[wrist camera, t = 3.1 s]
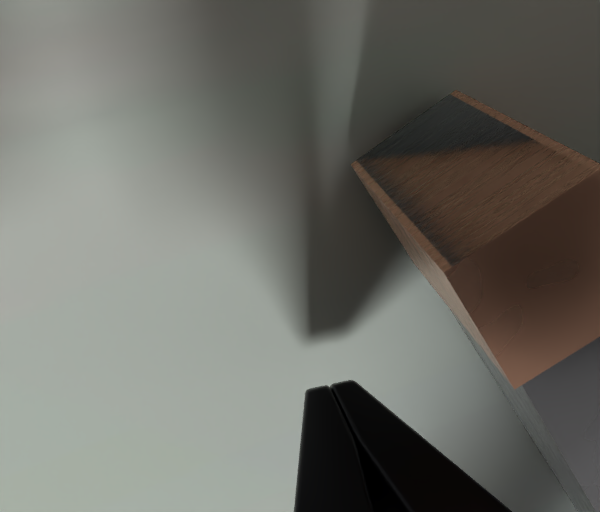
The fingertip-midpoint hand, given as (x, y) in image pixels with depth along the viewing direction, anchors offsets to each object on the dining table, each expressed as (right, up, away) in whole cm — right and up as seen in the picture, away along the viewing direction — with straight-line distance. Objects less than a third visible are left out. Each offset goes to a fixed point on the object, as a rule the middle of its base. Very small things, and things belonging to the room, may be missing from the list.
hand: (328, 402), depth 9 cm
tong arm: (+4, 0, +2) cm, 5 cm away
